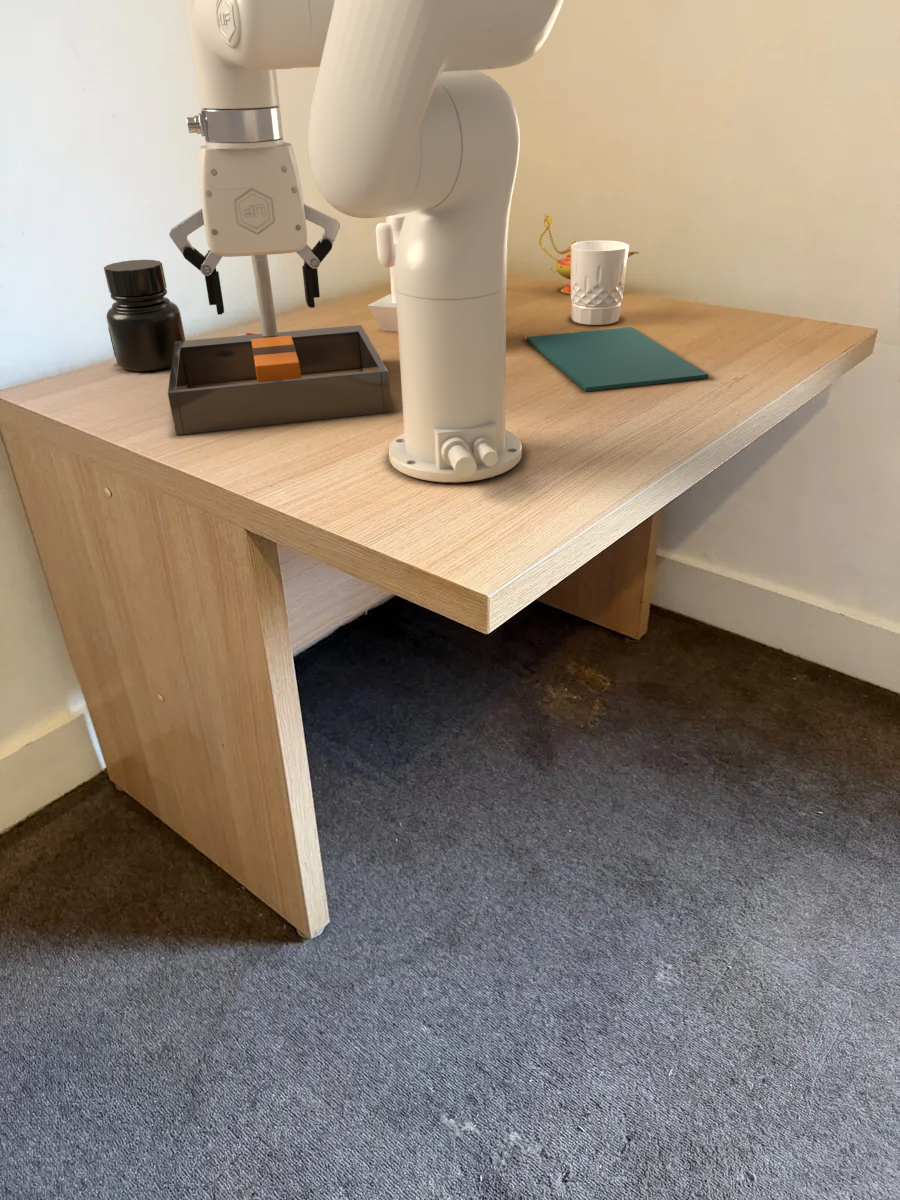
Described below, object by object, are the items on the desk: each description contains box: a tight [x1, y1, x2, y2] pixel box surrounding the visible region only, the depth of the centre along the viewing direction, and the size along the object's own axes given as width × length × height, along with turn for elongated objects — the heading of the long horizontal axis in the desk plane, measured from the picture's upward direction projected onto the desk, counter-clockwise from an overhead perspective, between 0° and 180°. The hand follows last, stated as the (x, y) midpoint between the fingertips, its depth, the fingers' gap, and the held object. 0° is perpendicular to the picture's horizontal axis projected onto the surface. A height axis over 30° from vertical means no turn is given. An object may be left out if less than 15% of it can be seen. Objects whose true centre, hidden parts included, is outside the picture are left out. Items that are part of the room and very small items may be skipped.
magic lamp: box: [538, 213, 641, 295], centre depth 136 cm, size 7×18×11 cm, turn 52°
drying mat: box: [526, 326, 709, 392], centre depth 108 cm, size 22×15×1 cm
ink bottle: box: [103, 259, 186, 372], centre depth 109 cm, size 10×9×12 cm
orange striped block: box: [251, 336, 302, 382], centre depth 97 cm, size 11×5×5 cm, turn 13°
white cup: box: [570, 239, 630, 326], centre depth 121 cm, size 8×8×10 cm
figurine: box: [366, 213, 406, 333], centre depth 119 cm, size 7×9×15 cm
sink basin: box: [167, 255, 392, 436], centre depth 96 cm, size 20×23×15 cm
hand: (266, 308), depth 94 cm, fingers open, 9 cm apart
